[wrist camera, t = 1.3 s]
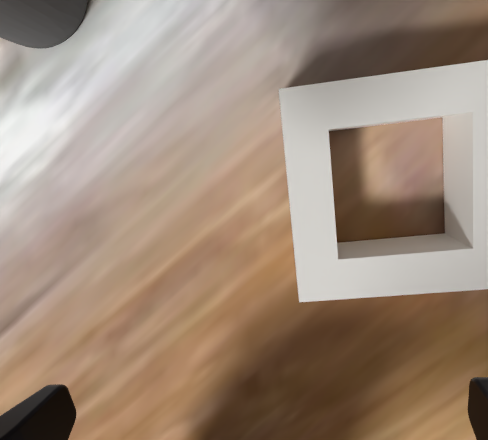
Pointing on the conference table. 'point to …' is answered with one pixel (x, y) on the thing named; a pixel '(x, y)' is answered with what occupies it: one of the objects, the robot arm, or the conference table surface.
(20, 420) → the robot arm
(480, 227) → the socket block
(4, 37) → the bottle
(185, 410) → the conference table surface
